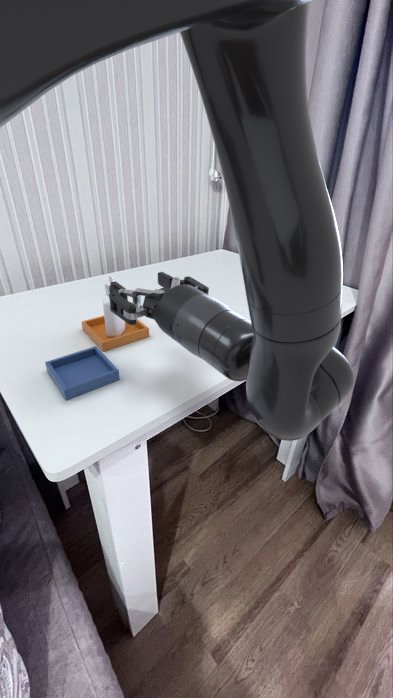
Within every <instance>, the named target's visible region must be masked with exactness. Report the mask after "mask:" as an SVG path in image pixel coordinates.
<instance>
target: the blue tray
mask: <svg viewBox="0 0 393 698" xmlns="http://www.w3.org/2000/svg"><path fill="white" fill-rule="evenodd" d="M44 365H45V368H46V372H47V373H48V376H49V377H50V378H51V380H52V381H53V383H54V384H55V386H56V387H57V389H58V391H59V392H60V393H61V395H62V397H63V398H64V400H65V401H68V400H70V399H74V398H76V397H78V396H81V395H83V394H86V393H89V392H91V391H94V390H98V389H99V388H102V387H105V386H107V385H111V384H112V383H115V382H118V381H119V380H121V378H120V372H119V368H118V367H116V365H115V364H114V363H113V362H112V361H111V360H110V359H109V358H108V357H107V356H106V354H104V353H103V351H102V350H101V349H100V348H99V347H98V346H97V345H95V346H92V347H88V348H85V349H82V350H79V351H76V352H73V353H70V354H67V355H63V356H60V357H56V358H53V359H51V360H47V361H45V362H44Z"/></svg>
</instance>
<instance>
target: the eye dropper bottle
mask: <svg viewBox="0 0 393 698" xmlns="http://www.w3.org/2000/svg"><path fill="white" fill-rule="evenodd" d="M114 281H115V280H114V277H113V275H112V274H111V275H108V279H107V281H105V282H104V290H105V295H104V297H103V299H102V308H103V316H104V319H105V327H106V334H107V336H108V337H118V336H120V335H121V334H122V333H123V332H124V331H125V321H124V320H122V319H121V318H120V317H118V316H117V315H115V314H114V313H113V312H111V311H110V299H109V294H110V289H109V285H111V284H110V283H111V282H114Z"/></svg>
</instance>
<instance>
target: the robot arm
mask: <svg viewBox="0 0 393 698" xmlns="http://www.w3.org/2000/svg"><path fill="white" fill-rule="evenodd" d="M312 1H313V0H0V129H1V128H3V127H4V126H5V125H7V124H8V123H9V122H10V121H12V120H13V119H14V118H16V117H17V116H18V115H20V114H21V113H22V112H24V111H25V110H26V109H28V108H29V107H30V106H31V105H32V104H34V103H35V102H36V101H38V100H40V99H41V98H42V97H43V96H45V95H46V94H47V93H49V92H50V91H51V90H53V89H54V88H56V87H58V86H59V85H60V84H62V83H64V82H65V81H67V80H68V79H70V78H71V77H73V76H74V75H77V74H79V73H80V72H83V71H85V70H86V69H88V68H90V67H92V66H94V65H96V64H98V63H101V62H103V61H105V60H108V59H110V58H112V57H115V56H117V55H120V54H123V53H125V52H127V51H129V50H132V49H135V48H138V47H140V46H143V45H146V44H149V43H152V42H155V41H158V40H161V39H164V38H167V37H169V36H172V35H176V34H178V33H179V34H180V37H181V40H182V42H183V46H184V49H185V52H186V54H187V58H188V61H189V63H190V66H191V69H192V72H193V75H194V78H195V80H196V85H197V87H198V88H197V89H198V90H199V94H200V98H201V102H202V104H203V107H204V111H205V115H206V118H207V121H208V125H209V128H210V132H211V136H212V140H213V142H214V143H213V144H214V148H215V151H216V155H217V158H218V162H219V166H220V171H221V175H222V179H223V183H224V187H225V192H226V197H227V202H228V205H229V210H230V217H231V220H232V226H233V230H234V236H235V241H236V246H237V251H238V256H239V263H240V268H241V274H242V280H243V285H244V290H245V297H246V301H247V309H248V313H249V319H248V318H247V317H245V316H243V315H242V314H240V313H238V312H236V311H235V310H233V309H232V308H230V307H229V305H227V304H226V303H224V302H222V301H220V300H219V299H217V298H215V297H213V296H211V295H209V293H210V291H209V290H210V287H208V286H207V285H206V284H204V283H202V282H200V281H198V280H197V279H195V278H193V277H192V276H188V275H187V276H184V277H183V279H181V277H178V276H176V277H175V276H174V277H173V276H172V275H170V274H168V273H166V272H164V271H159V272H157V284H158V285H159V286H160V287H161V288H159V289H158V288H155V289H147V288H140V287H137V288H135V289H134V290H133V289H127V288H126V287H125V286H123V285H122V284H120V283H119V282H118V281H116V280H114V282H111V283H110V284H111V285H109V289H110V294H109V299H110V311H111V312H113V313H114V314H115V315H117V316H118V317H120V318H121V319H122V320H124V321H125V322H126V323H128V324H129V325H135V324H136V323H137V319H140V318H142V317H145V318H148V319H152V320H154V321H155V323H156V325H157V326H158V327H159V329H160V330H161V331H162V332H163V333H164V334H165V335H167V336H168V337H170V338H171V340H173V341H175V342H176V343H177V344H179V345H180V346H181V347H183V348H184V349H185V350H186V351H187V352H189V353H191V354H192V355H194V356H196V357H198V358H200V359H201V360H203V361H204V362H205V363H206V364H208V365H209V366H210V367H212V368H213V369H214V370H216V371H217V372H218V373H220V374H221V375H222V376H224V377H225V378H227V379H229V380H231V381H234V382H244V381H246V384H245V391H246V392H245V393H246V400H247V404H248V407H249V410H250V413H251V415H252V417H253V418H254V420H255V422H256V423H257V425H258V426H259V428H261V429H262V430H263V431H264V432H265V433H266V434H268V435H269V436H271V437H273V438H275V439H277V440H280V441H288V442H293V441H298V440H301V439H304V438H305V437H306V436H308V435H309V434H311V432H313V431H314V430H315V429H316V428H317V427H318V426H319V425H320V424H321V423H322V422H323V421H324V420H325V419H326V418H327V417H328V416H329V415H330V414H331V413H332V412H333V411H334V410H335V409H336V408H337V407H339V406H340V405H341V403H343V402H344V401H345V400H346V398H348V396H349V395H350V393H351V392H352V391H353V390H354V389H353V388H354V386H355V381H356V378H355V372H354V369H353V367H352V365H351V362H350V361H348V359H347V358H346V356H345V355H344V354H343V353H342V352H340V351H339V350H338V349H337V348H336V347H335V345H336V344H337V341H338V339H339V336H340V332H341V326H342V325H341V324H342V303H343V283H344V282H343V279H344V265H343V264H344V263H343V251H342V245H341V238H340V233H339V227H338V223H337V219H336V214H335V210H334V207H333V204H332V201H331V198H330V194H329V190H328V188H327V184H326V179H325V177H324V173H323V170H322V166H321V163H320V158H319V155H318V150H317V147H316V142H315V138H314V133H313V131H314V130H313V127H312V126H313V125H312V120H311V115H310V108H309V99H308V87H307V85H308V84H307V65H306V64H307V63H306V62H307V61H306V56H307V54H306V51H307V50H306V49H307V48H306V47H307V29H308V27H307V25H308V13H309V12H308V9H309V3H310V2H312ZM142 296H143V297H144V299H143V303H142ZM130 297H131V298H132V301H129V298H130Z"/></svg>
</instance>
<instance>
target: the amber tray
mask: <svg viewBox="0 0 393 698" xmlns="http://www.w3.org/2000/svg"><path fill="white" fill-rule="evenodd" d="M81 328H82V331H83V332H84V333H85V334H86V335H87V336H88V337H89V338H90V340H92V342H94V344H95V345H96V346H97V347H98V349H99V350H100V351H101V352H102V353H103V352H107V351H109V350H113V349H116V348H119V347H122V346H125V345H129V344H131V343H134V342H137V341H140V340H144V339H147V338H149V337H150V328H149V327H148V326H147V325H145V324H144V323H143V322H142V321H141V320H139V318H137V323H136V324H135V325H129V324H128V323H126V322H125V331H124V332H123V333H122V334H121V335H120V336H118V337H108V336H107V334H106V327H105V319H104V315H101V316H97V317H93V318H90V319H86V320H82V321H81Z"/></svg>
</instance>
